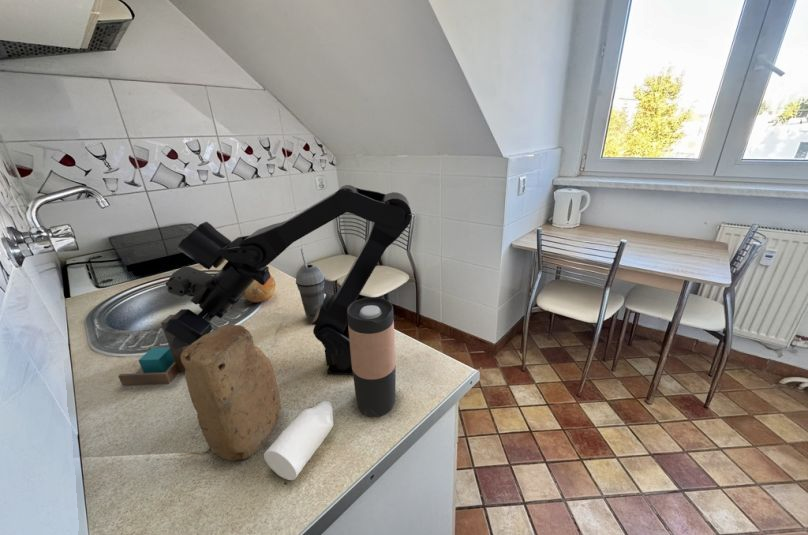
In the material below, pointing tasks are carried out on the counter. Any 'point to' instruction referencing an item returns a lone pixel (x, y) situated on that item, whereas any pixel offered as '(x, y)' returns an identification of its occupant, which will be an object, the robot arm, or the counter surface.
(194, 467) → the counter surface
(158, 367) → the cube
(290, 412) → the counter surface
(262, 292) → the onion
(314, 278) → the beverage cup
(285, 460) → the white bottle
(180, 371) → the brown angle bracket
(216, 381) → the porous brown stone
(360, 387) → the travel mug
